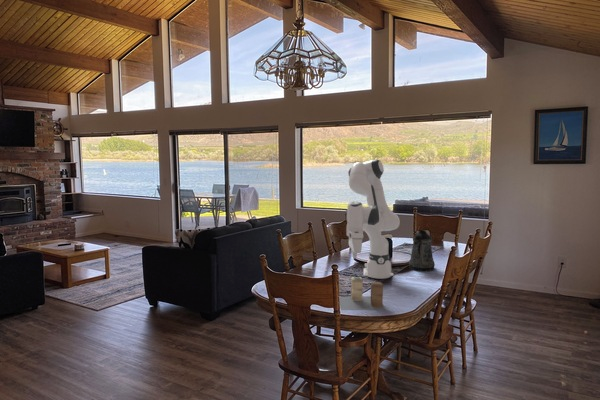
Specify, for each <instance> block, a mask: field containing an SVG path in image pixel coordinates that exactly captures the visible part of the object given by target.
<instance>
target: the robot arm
mask: <svg viewBox="0 0 600 400" xmlns="http://www.w3.org/2000/svg"><path fill="white" fill-rule="evenodd" d="M347 173H348V185H349V188H350V190H351V191H352V192H354V193H356V194H358V195H361V196H364V197H366V202H367V206H363V203H362V202H359V201H351V202H349V203H348V205H347V209H346V210H345V216H344V217H345V219H344V220H345V222H347V224H346V236H347V237H348V246H349V247H350V250H351V254H352V259H357V256H358V254H361V253H362V246H363V239H364V232H365V233H366V234H367V236H368V240H369V244H370V245H369V251H370V252H369V254H368V260H367V261H366V262H367V263H364V267H363V276H364V277H369V278H372V279H383V280H384V279H389V278H391V277H393V276H394V275H395V274H394V273H393V272H392V263H391V261H390V260H389V259H390V254H389V241H388V239H387V238H385V237H384V236H383V235H382V232H390V231H394V230H397V229H398V228H399V227H400V223H401V221H400V217H399V216H398V214H396V213H395V212H393V210H392V209H390V206H389V205H388V203H387V200H386V197H385V192H384V186H383V184H382V181H381V178H382V176H383V174H384V165H383V162H382V161H381V160H380V159H371V160H367V161H364V162H360V161H359V162H355V163H353V165H352V166H351V167H350V168H349V170H348V172H347Z"/></svg>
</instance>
